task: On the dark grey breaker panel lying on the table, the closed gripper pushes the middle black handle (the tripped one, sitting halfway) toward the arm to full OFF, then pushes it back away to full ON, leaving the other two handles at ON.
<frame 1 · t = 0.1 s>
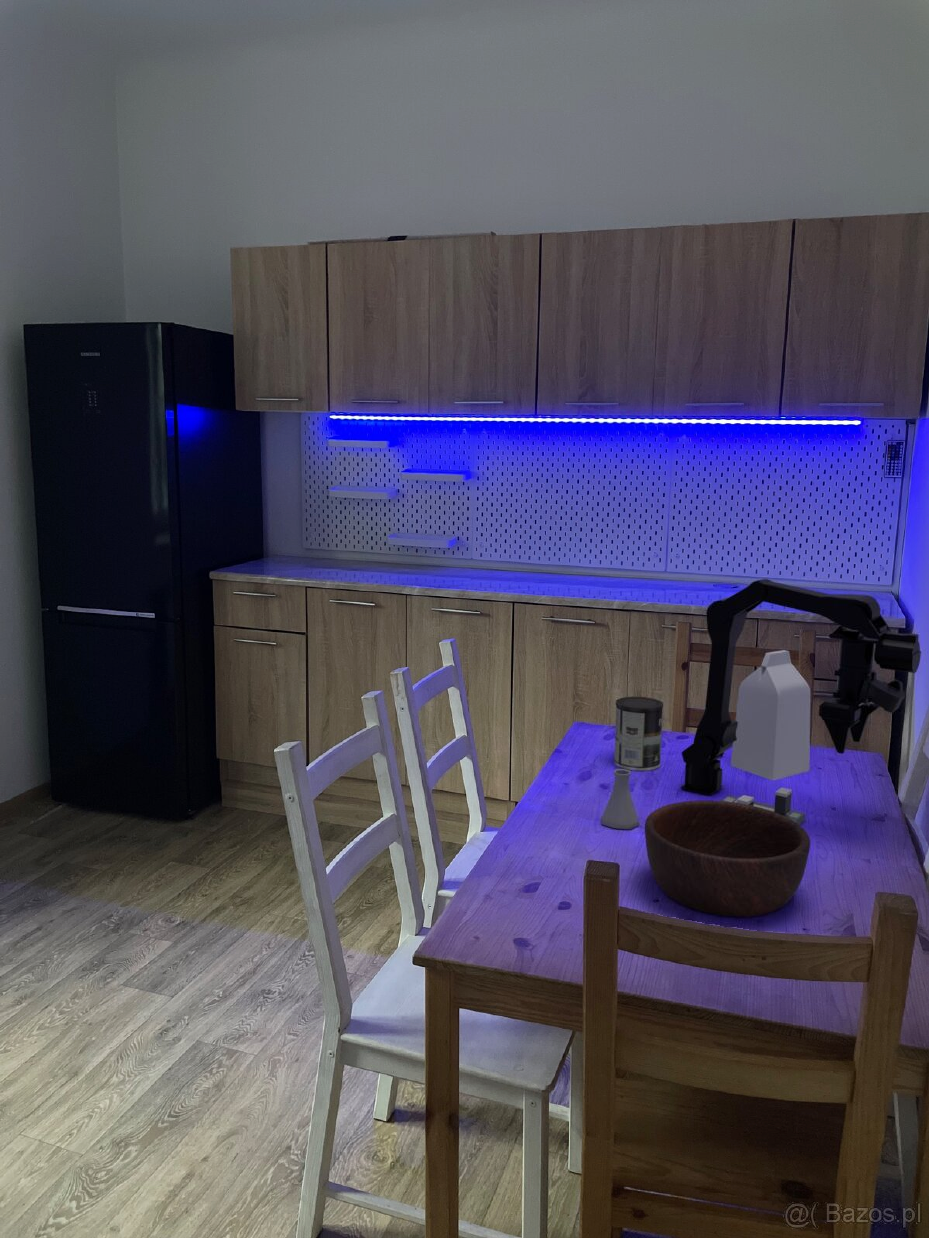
hand: (848, 747, 178), 15 cm above the table, fingers open, 9 cm apart
flask: (619, 824, 180), on the table
milk: (769, 769, 212), on the table
coffee can: (636, 764, 214), on the table
panel: (743, 828, 177), on the table
breaker far: (783, 800, 181), point 4 cm above the table, slide at 4.0 cm
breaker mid: (744, 808, 177), point 4 cm above the table, slide at 0.0 cm
wooden bowl: (722, 890, 153), on the table
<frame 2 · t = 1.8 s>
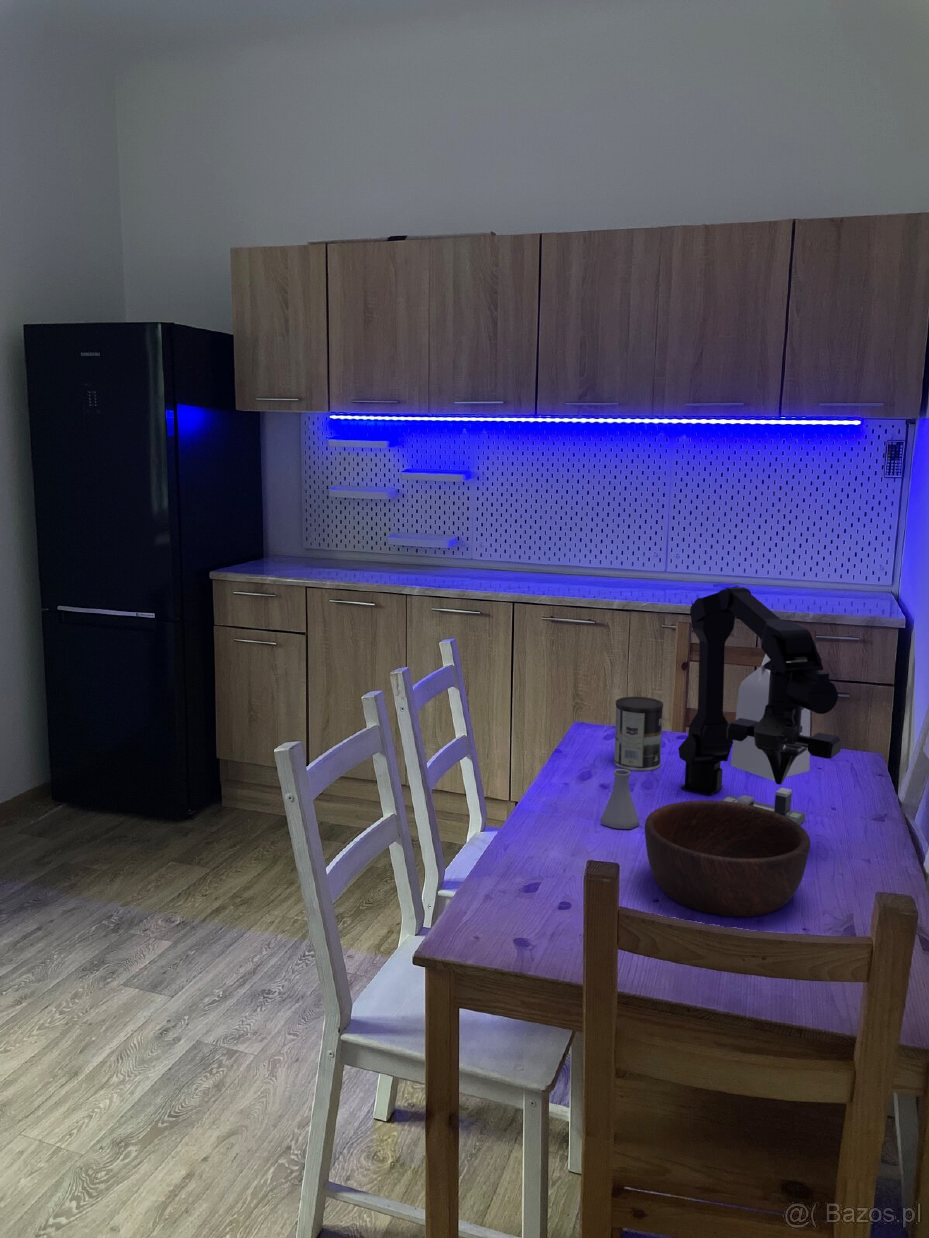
hand: (779, 783, 172), 10 cm above the table, fingers closed
nothing on the table moved.
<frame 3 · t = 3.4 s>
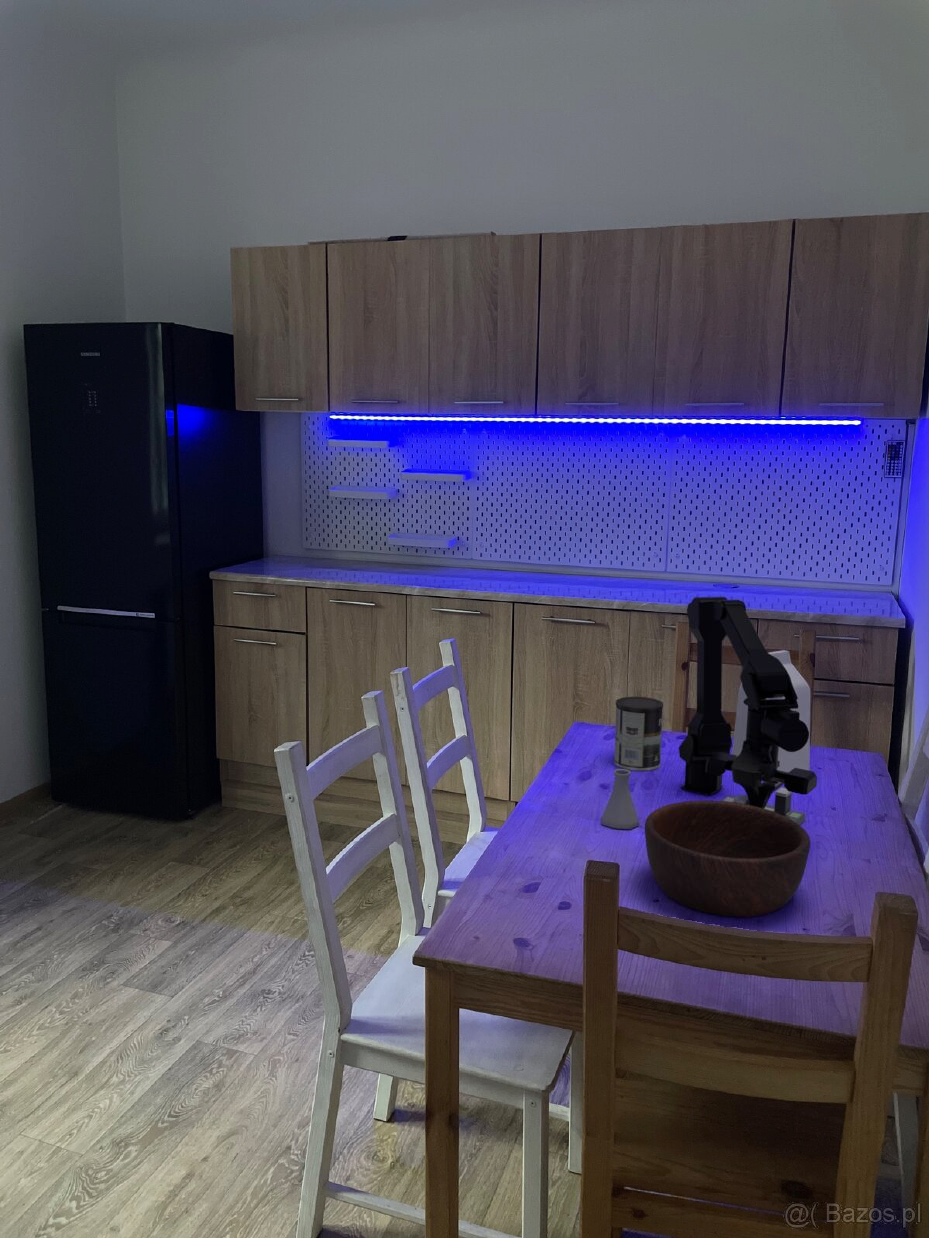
hand: (757, 817, 176), 3 cm above the table, fingers closed
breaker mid: (742, 808, 177), point 4 cm above the table, slide at -0.6 cm, touching gripper
everything else where it was.
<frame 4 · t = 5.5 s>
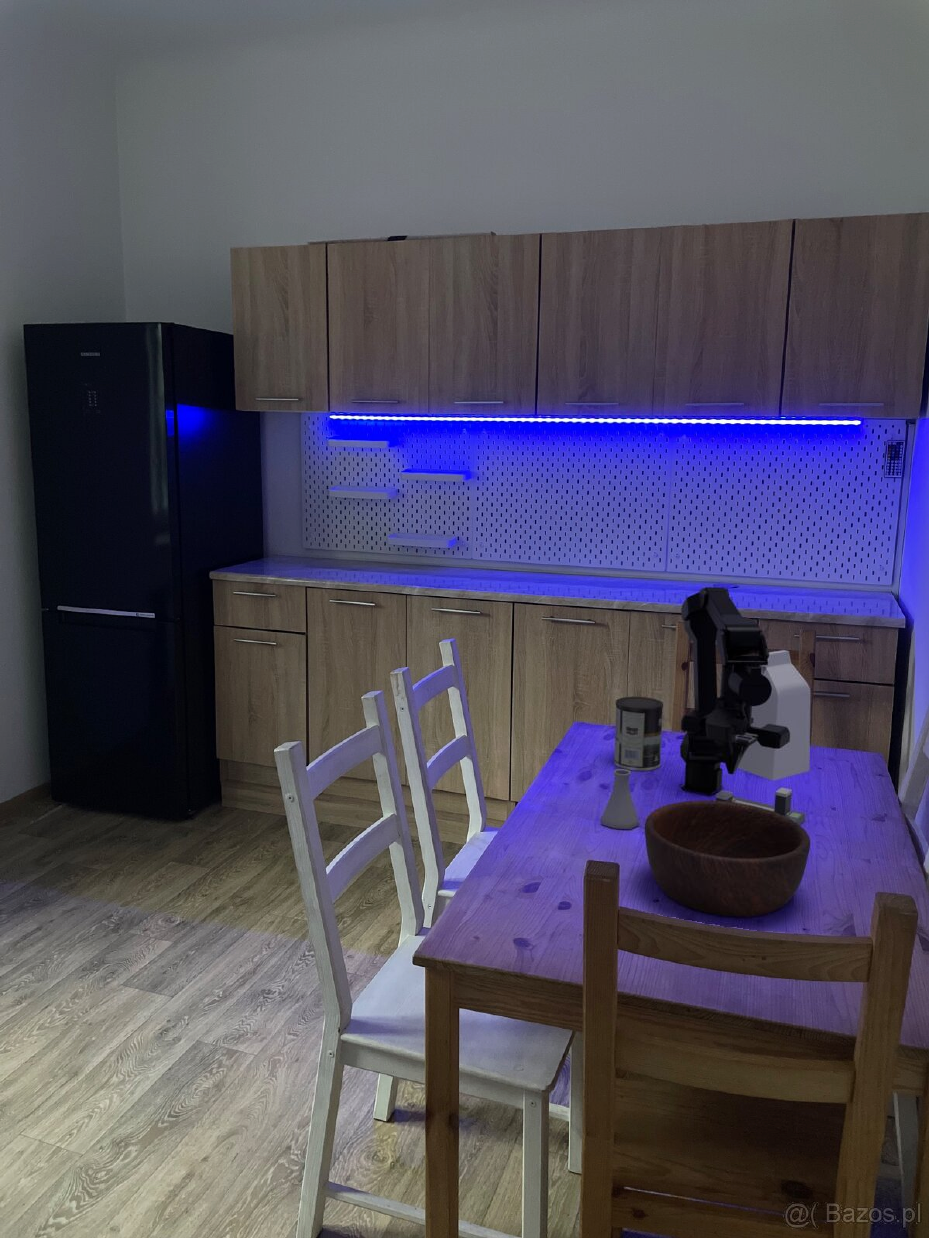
hand: (731, 773, 178), 10 cm above the table, fingers closed
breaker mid: (723, 803, 179), point 4 cm above the table, slide at -4.0 cm
everything else where it was.
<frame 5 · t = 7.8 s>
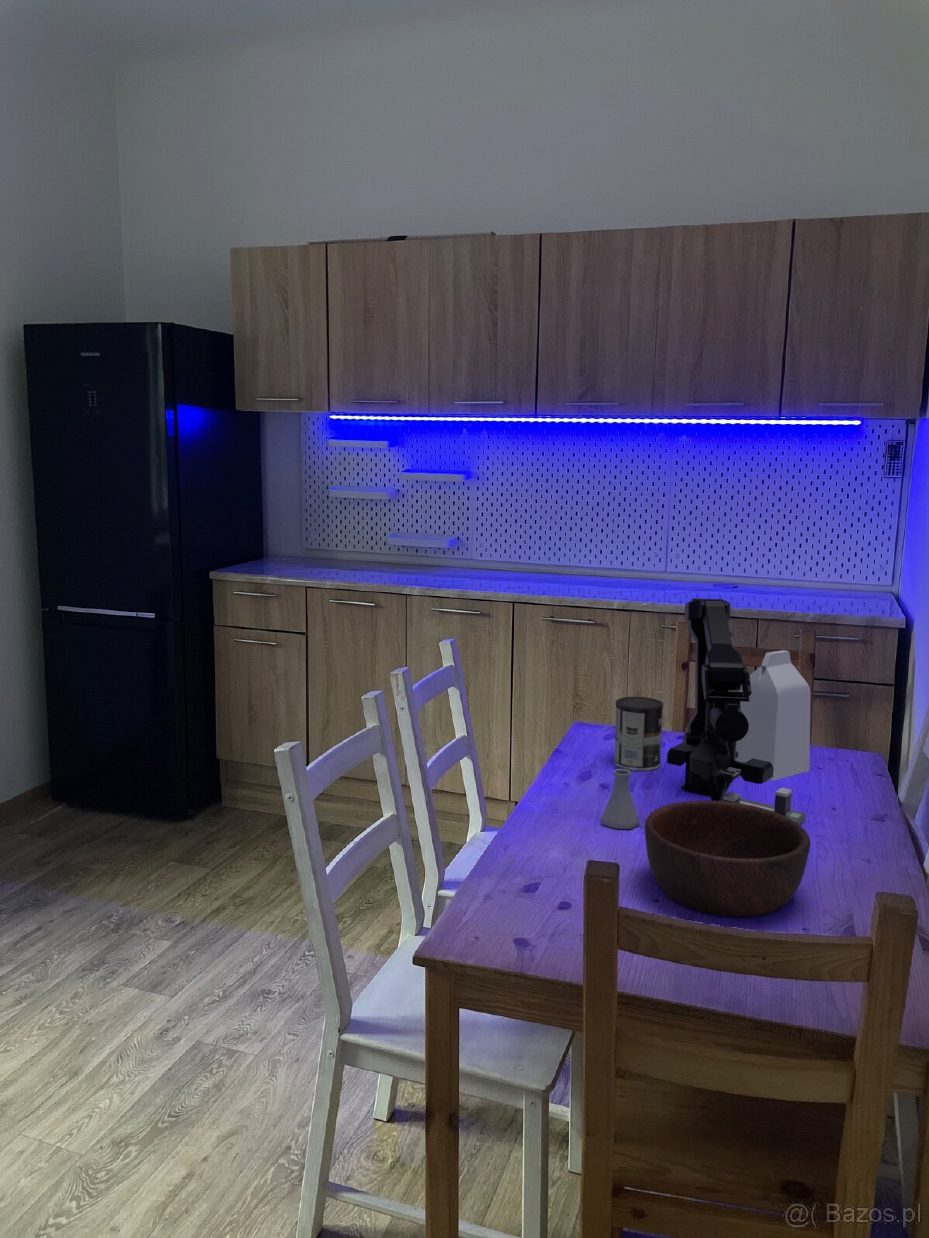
hand: (716, 806, 180), 3 cm above the table, fingers closed
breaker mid: (731, 805, 178), point 4 cm above the table, slide at -2.6 cm, touching gripper
everything else where it was.
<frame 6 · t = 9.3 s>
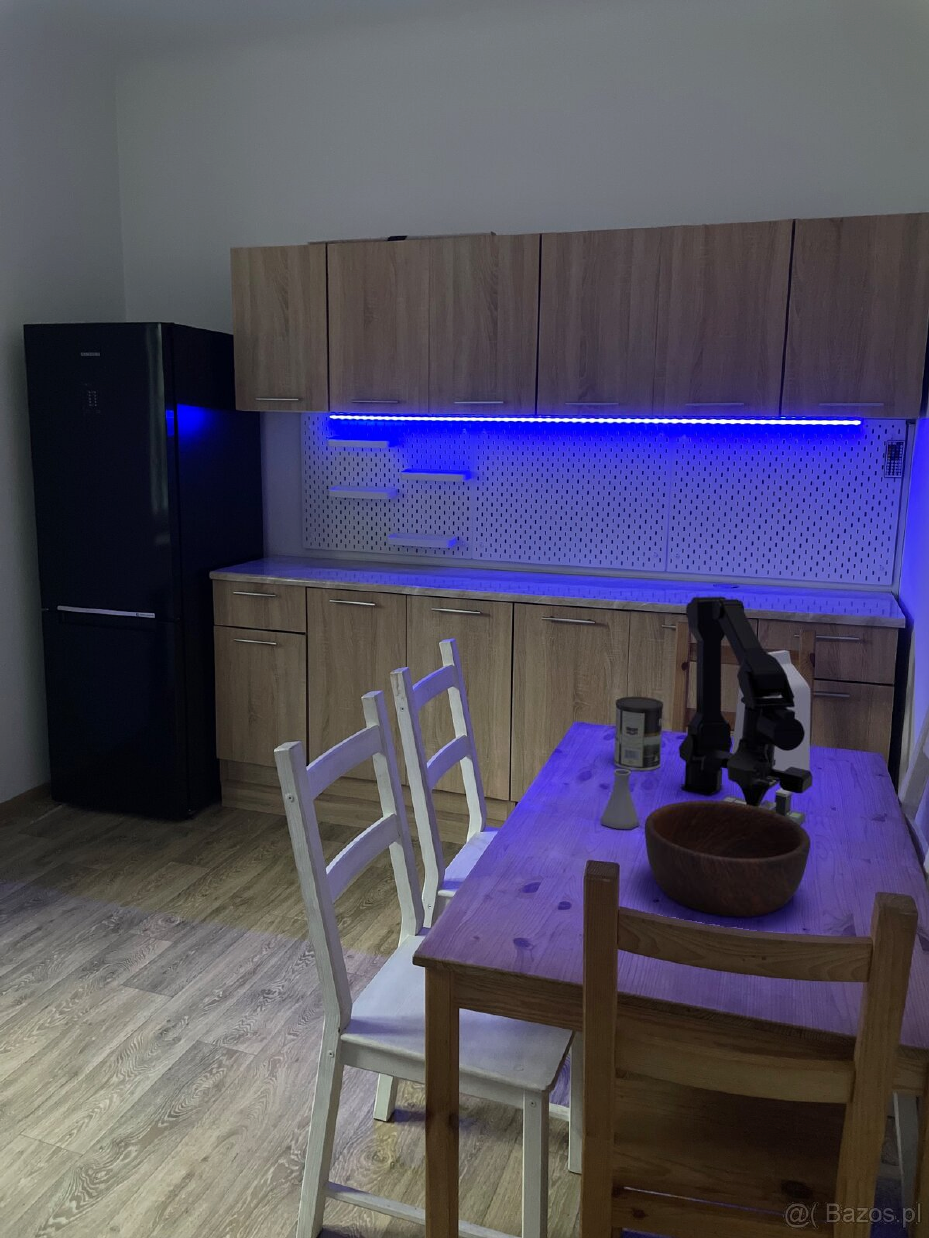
hand: (752, 815, 176), 3 cm above the table, fingers closed
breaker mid: (767, 814, 174), point 4 cm above the table, slide at 4.1 cm, touching gripper
everything else where it was.
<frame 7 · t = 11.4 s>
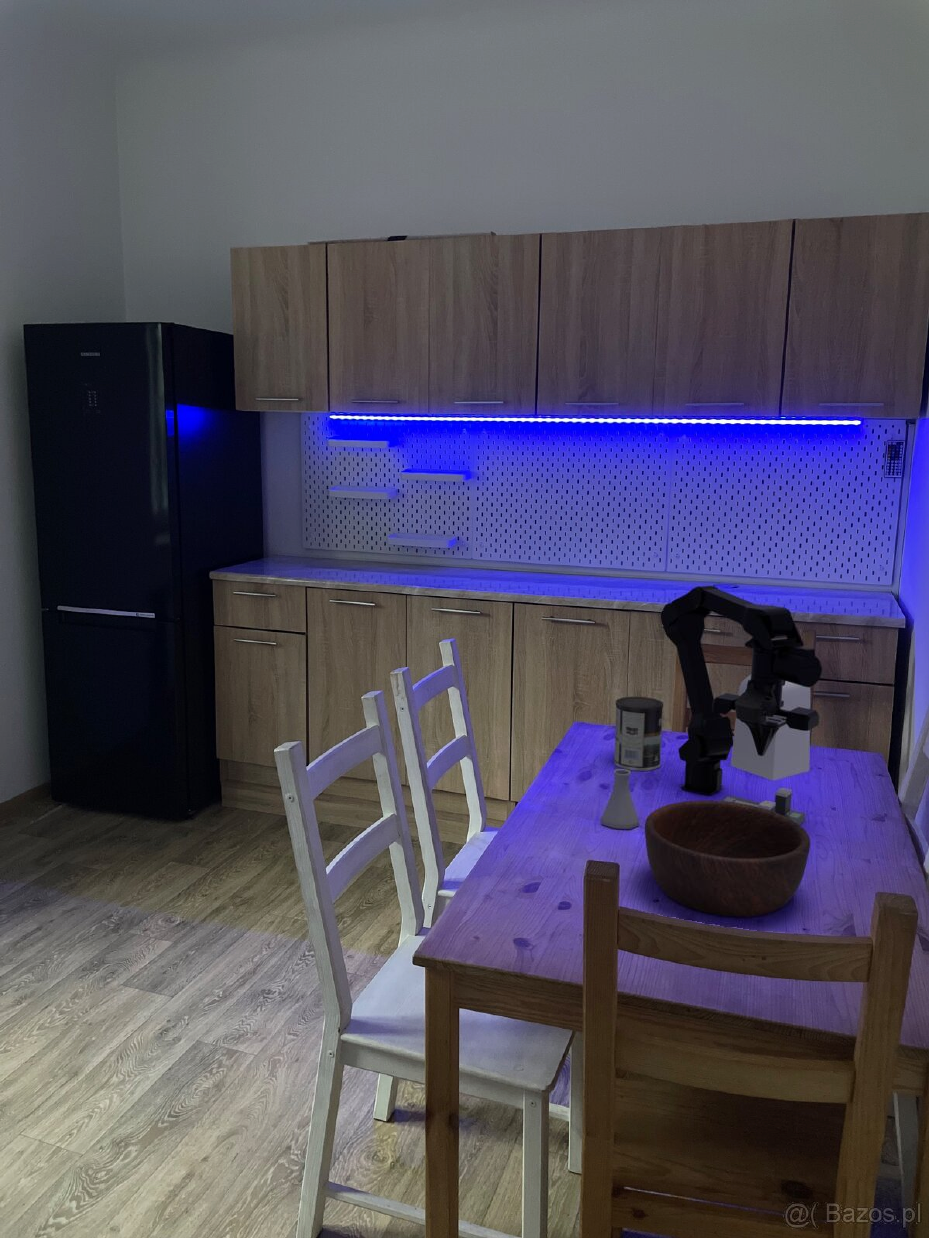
hand: (761, 755, 182), 12 cm above the table, fingers closed
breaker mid: (766, 813, 174), point 4 cm above the table, slide at 4.0 cm
everything else where it was.
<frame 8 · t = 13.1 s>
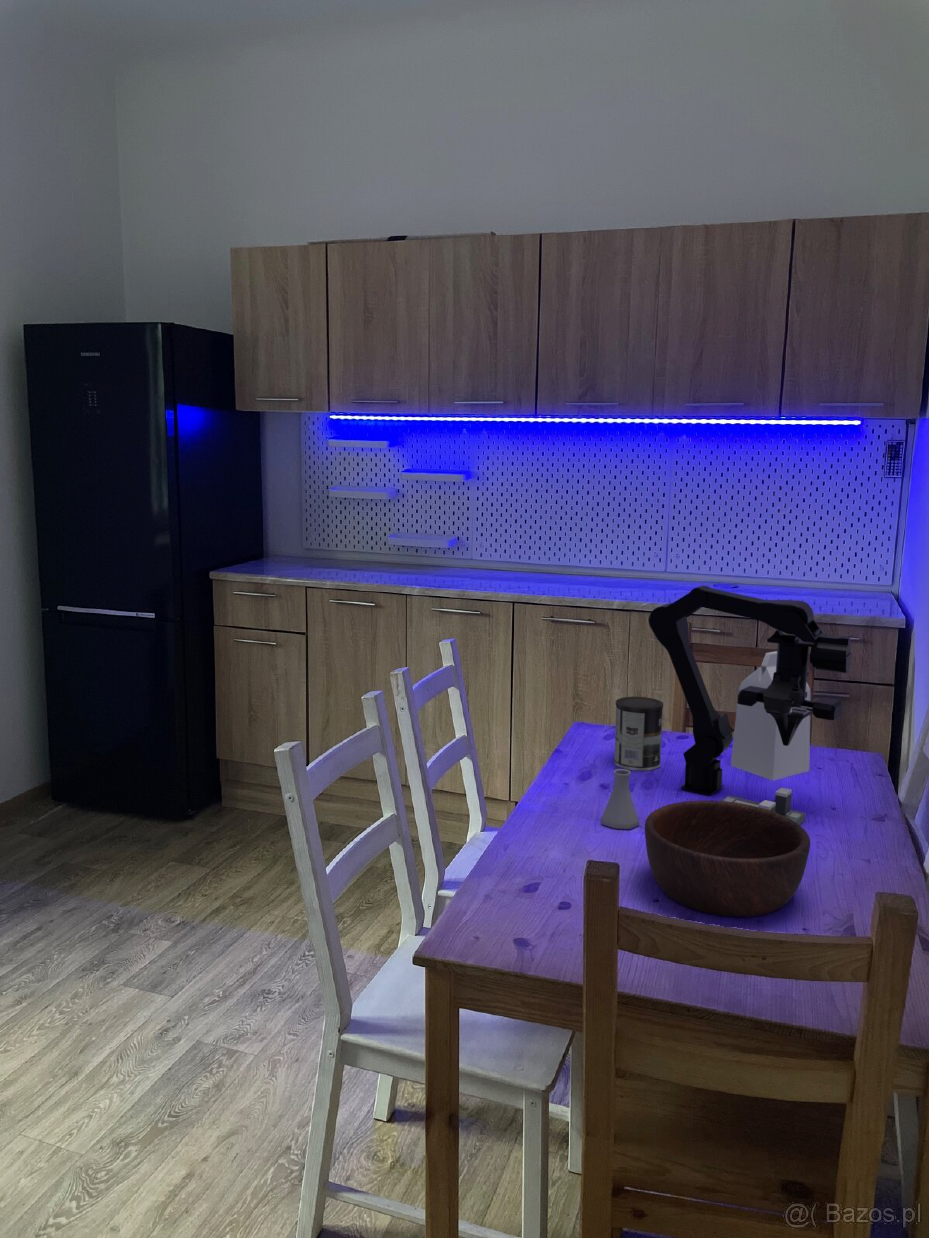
hand: (786, 745, 188), 12 cm above the table, fingers closed
nothing on the table moved.
at the end: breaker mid slide at 4.0 cm; breaker far slide at 4.0 cm; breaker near slide at 4.0 cm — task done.
